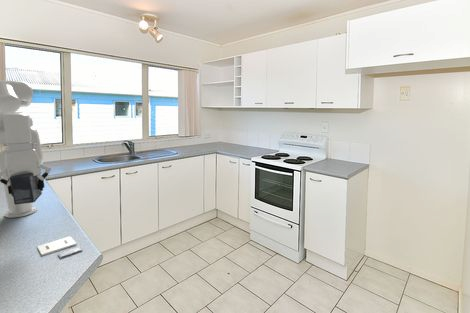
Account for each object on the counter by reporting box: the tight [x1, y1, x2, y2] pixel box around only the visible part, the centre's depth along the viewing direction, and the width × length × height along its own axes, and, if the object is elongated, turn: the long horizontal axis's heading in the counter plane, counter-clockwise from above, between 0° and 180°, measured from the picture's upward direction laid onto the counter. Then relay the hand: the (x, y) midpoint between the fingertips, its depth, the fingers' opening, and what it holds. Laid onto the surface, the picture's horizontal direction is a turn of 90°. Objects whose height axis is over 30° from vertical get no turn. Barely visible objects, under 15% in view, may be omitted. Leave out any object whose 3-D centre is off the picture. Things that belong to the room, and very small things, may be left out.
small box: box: [10, 173, 43, 205], centre depth 104 cm, size 11×6×10 cm, turn 22°
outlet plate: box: [37, 236, 77, 256], centre depth 104 cm, size 8×11×1 cm
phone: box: [57, 246, 83, 260], centre depth 99 cm, size 4×7×1 cm, turn 136°
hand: (27, 192), depth 104 cm, fingers closed on small box, 8 cm apart
